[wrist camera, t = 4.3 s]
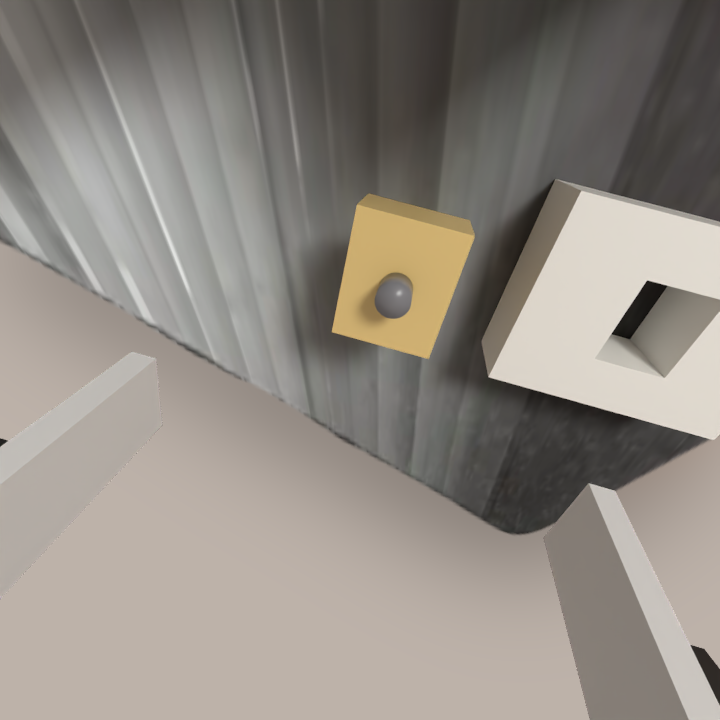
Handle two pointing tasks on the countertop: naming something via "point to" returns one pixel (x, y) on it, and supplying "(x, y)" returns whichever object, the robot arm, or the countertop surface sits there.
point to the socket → (614, 310)
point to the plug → (400, 274)
